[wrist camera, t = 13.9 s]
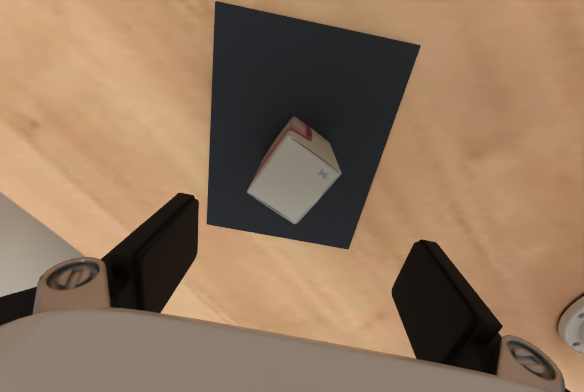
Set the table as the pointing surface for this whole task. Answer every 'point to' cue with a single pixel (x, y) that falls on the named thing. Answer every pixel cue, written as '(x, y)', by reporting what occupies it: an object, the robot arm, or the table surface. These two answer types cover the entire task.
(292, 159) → the small box
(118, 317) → the robot arm
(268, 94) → the desk mat
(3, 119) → the table surface
